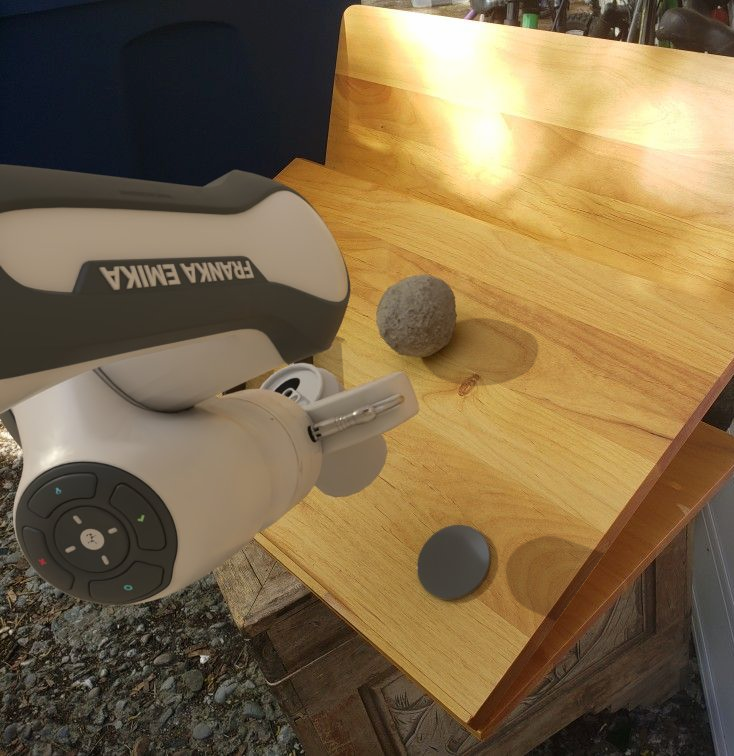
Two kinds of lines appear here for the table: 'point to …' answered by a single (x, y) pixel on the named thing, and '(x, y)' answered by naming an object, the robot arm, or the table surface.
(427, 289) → the decorative stone
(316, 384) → the can
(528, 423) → the table surface
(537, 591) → the table surface
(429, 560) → the coaster
